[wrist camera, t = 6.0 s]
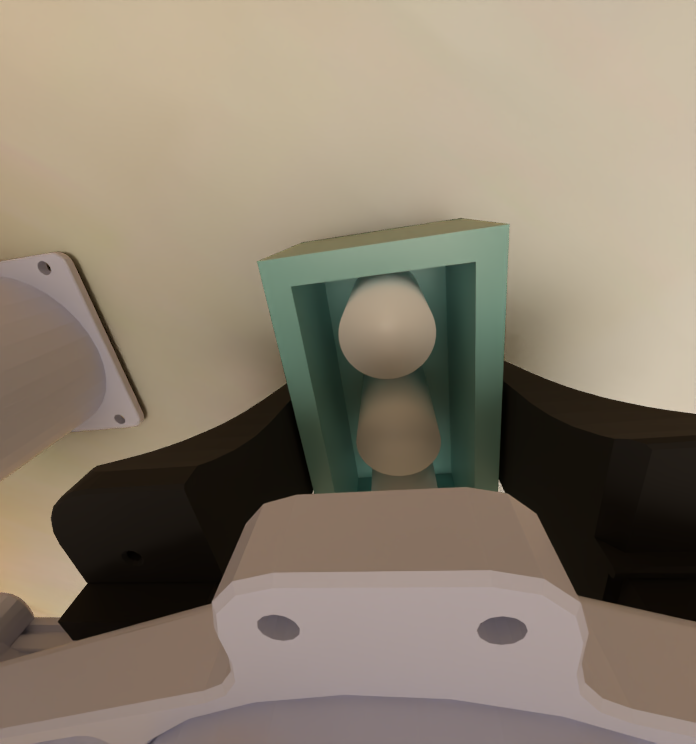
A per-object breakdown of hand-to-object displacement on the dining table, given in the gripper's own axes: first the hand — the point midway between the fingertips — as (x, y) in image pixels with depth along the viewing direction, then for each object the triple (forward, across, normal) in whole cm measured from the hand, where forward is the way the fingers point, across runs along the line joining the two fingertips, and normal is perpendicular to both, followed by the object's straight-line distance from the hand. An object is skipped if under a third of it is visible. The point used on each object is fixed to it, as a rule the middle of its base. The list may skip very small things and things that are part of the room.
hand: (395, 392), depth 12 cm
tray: (+2, 0, 0) cm, 2 cm away
